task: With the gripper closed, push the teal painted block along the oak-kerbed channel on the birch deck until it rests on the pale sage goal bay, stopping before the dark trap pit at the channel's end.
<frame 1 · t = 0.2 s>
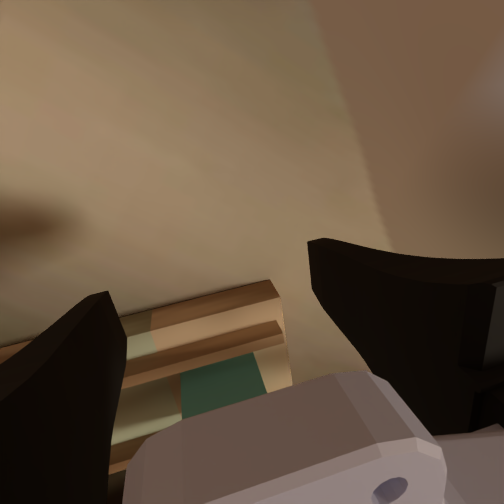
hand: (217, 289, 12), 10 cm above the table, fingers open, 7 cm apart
teal block: (222, 379, 23), point 2 cm above the table, touching channel board
channel board: (159, 372, 25), on the table
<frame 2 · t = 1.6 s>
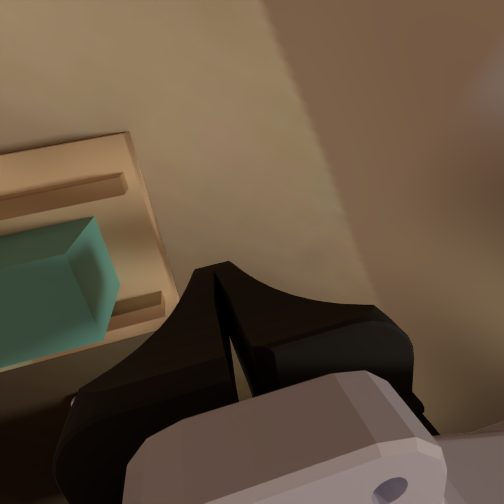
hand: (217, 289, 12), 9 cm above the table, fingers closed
teal block: (58, 263, 17), point 2 cm above the table, touching channel board
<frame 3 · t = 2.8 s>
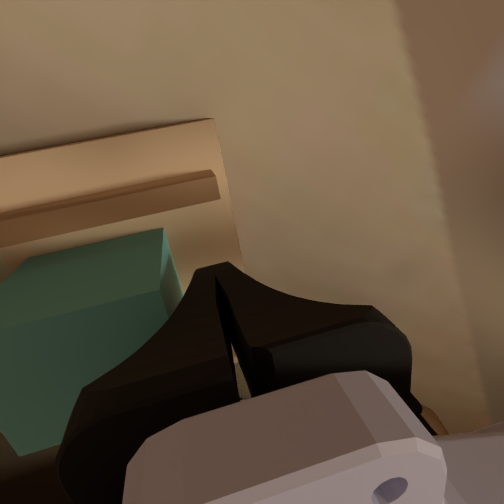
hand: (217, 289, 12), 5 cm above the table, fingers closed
teal block: (115, 287, 13), point 3 cm above the table, touching gripper
channel board: (28, 285, 15), on the table
beer glass: (400, 431, 26), on the table
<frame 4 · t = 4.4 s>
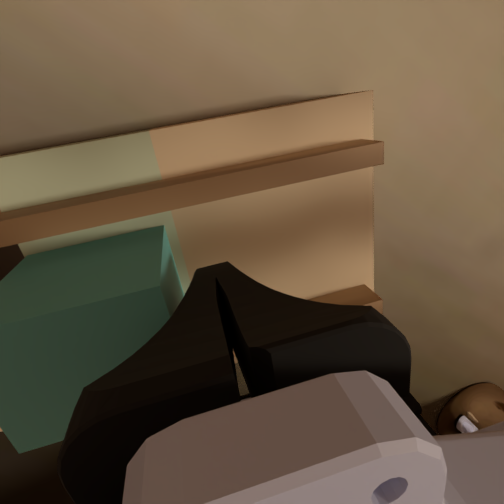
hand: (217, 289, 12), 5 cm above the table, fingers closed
teal block: (115, 285, 13), point 2 cm above the table, touching channel board, gripper
channel board: (164, 253, 16), on the table
beer glass: (467, 409, 27), on the table
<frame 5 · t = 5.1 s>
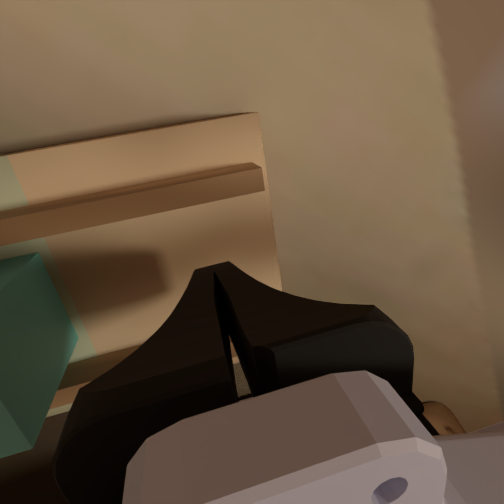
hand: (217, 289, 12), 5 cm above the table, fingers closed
channel board: (63, 275, 15), on the table
beer glass: (415, 428, 26), on the table
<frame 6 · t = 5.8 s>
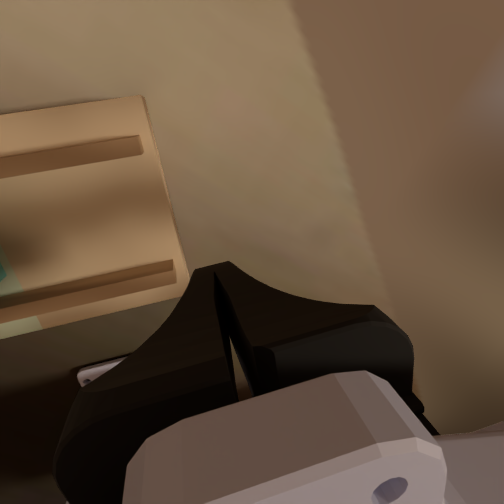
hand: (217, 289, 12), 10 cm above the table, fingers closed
channel board: (0, 229, 18), on the table
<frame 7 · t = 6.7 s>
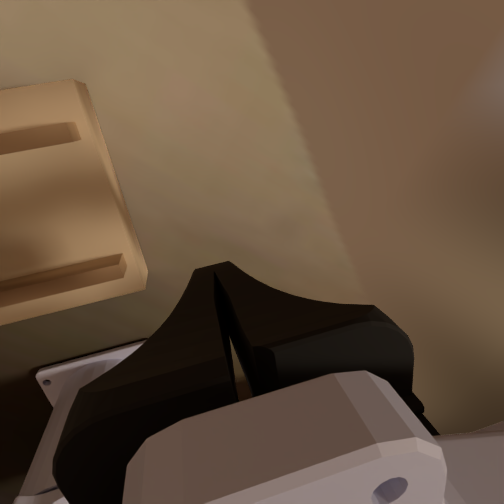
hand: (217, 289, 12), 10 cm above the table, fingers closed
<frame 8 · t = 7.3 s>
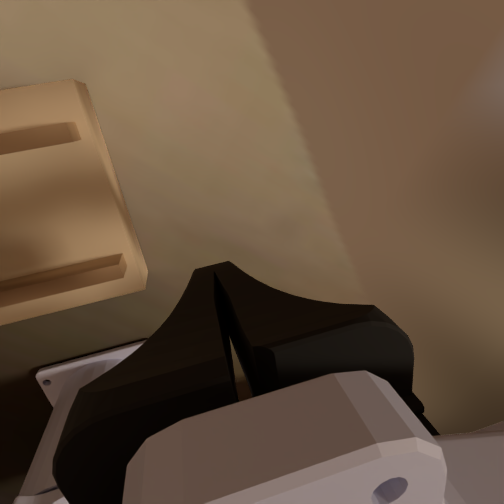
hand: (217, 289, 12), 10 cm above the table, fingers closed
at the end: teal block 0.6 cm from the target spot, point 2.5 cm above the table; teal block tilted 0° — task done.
